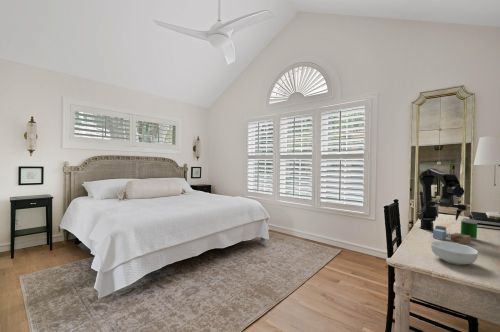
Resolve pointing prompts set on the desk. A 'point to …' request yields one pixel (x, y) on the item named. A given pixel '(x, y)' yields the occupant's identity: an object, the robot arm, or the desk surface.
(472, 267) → the desk surface
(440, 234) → the blue cube
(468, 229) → the soda can
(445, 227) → the charcoal cube
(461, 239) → the walnut plinth
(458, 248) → the cereal bowl
